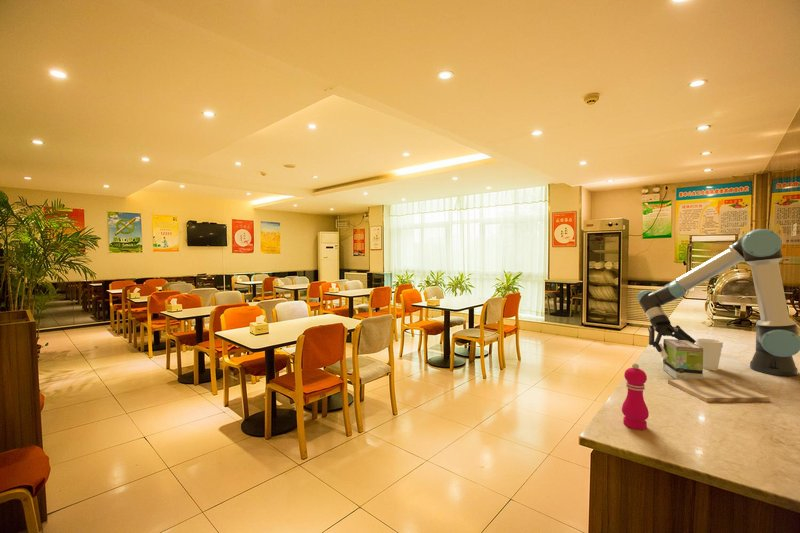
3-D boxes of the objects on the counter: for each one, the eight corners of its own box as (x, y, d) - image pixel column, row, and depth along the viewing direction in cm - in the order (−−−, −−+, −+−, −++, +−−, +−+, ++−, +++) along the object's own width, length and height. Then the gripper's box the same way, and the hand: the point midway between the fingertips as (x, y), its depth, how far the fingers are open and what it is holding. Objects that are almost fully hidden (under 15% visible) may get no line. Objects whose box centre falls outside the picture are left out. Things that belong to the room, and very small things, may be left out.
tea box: (703, 382, 151) (704, 347, 151) (675, 380, 154) (675, 346, 154) (687, 371, 166) (688, 339, 165) (661, 369, 169) (662, 338, 168)
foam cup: (700, 369, 167) (700, 342, 167) (692, 364, 176) (693, 337, 175) (726, 372, 164) (726, 343, 163) (717, 366, 172) (717, 339, 172)
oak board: (723, 382, 151) (723, 379, 151) (769, 401, 132) (769, 397, 132) (668, 383, 151) (668, 379, 151) (706, 402, 132) (706, 397, 132)
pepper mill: (616, 420, 118) (617, 360, 118) (637, 419, 119) (637, 359, 118) (632, 431, 111) (633, 367, 110) (654, 430, 112) (655, 366, 111)
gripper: (679, 322, 179) (704, 361, 164) (628, 323, 179) (649, 362, 164) (688, 313, 173) (714, 353, 159) (636, 314, 173) (657, 353, 159)
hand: (681, 357), depth 161 cm, fingers open, 13 cm apart
